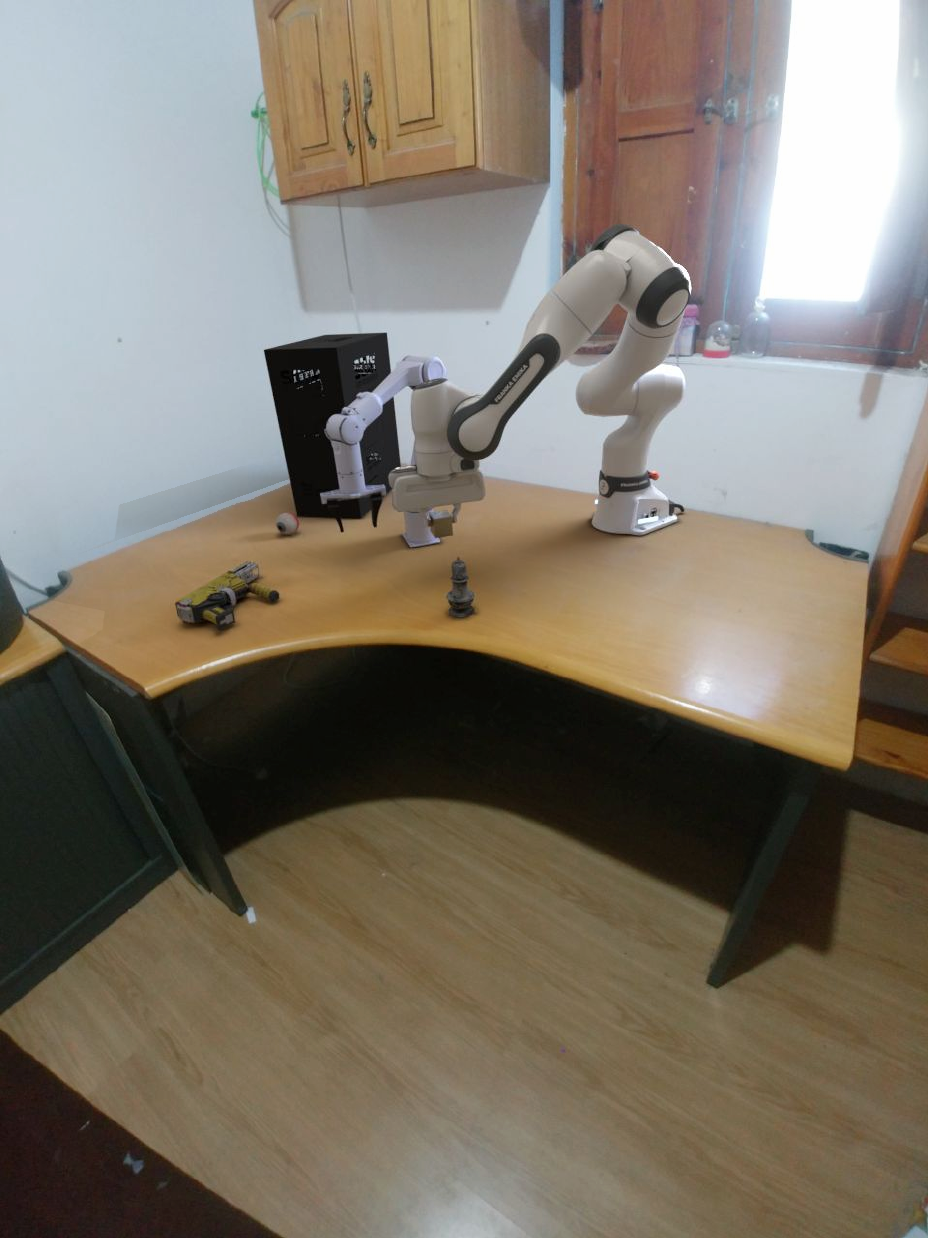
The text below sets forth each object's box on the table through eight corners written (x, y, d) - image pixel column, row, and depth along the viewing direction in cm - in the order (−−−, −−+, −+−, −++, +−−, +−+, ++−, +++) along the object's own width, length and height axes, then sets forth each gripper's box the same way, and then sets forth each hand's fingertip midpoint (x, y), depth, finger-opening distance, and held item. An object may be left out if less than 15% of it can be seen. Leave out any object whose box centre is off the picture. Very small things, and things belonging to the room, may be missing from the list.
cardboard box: (361, 518, 173) (336, 347, 150) (296, 515, 177) (263, 349, 155) (402, 478, 204) (386, 332, 182) (346, 477, 209) (325, 334, 186)
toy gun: (300, 570, 137) (245, 558, 141) (232, 617, 117) (169, 602, 121) (302, 588, 139) (247, 576, 143) (235, 638, 119) (173, 622, 123)
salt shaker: (472, 618, 120) (470, 563, 114) (444, 617, 121) (439, 562, 115) (478, 604, 125) (475, 551, 119) (450, 603, 126) (446, 550, 120)
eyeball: (273, 537, 164) (268, 516, 161) (287, 528, 169) (282, 508, 166) (291, 539, 161) (286, 518, 158) (305, 530, 166) (301, 510, 163)
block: (435, 538, 132) (433, 519, 130) (430, 530, 136) (428, 512, 133) (453, 535, 133) (451, 516, 130) (448, 528, 136) (446, 509, 134)
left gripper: (318, 480, 129) (328, 539, 136) (385, 471, 132) (392, 529, 139) (316, 471, 135) (326, 528, 142) (380, 463, 138) (386, 519, 145)
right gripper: (389, 472, 121) (397, 536, 128) (486, 459, 126) (488, 522, 133) (384, 464, 127) (392, 526, 134) (477, 452, 131) (480, 512, 138)
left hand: (358, 528), depth 141 cm, fingers open, 7 cm apart
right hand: (441, 524), depth 133 cm, fingers closed on block, 4 cm apart
